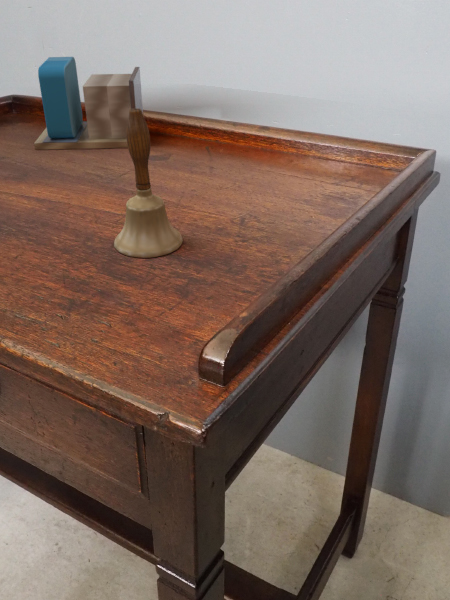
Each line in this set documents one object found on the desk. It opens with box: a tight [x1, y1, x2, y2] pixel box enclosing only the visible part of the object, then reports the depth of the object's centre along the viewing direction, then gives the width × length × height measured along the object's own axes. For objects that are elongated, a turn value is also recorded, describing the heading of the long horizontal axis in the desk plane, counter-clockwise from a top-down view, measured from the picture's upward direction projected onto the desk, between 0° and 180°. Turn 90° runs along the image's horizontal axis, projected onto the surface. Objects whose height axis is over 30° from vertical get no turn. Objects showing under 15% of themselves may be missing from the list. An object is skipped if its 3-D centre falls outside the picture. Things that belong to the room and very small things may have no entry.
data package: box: [37, 56, 84, 139], centre depth 109 cm, size 12×4×12 cm, turn 4°
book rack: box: [33, 66, 144, 151], centre depth 110 cm, size 18×13×11 cm
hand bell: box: [113, 108, 184, 259], centre depth 71 cm, size 8×8×16 cm
